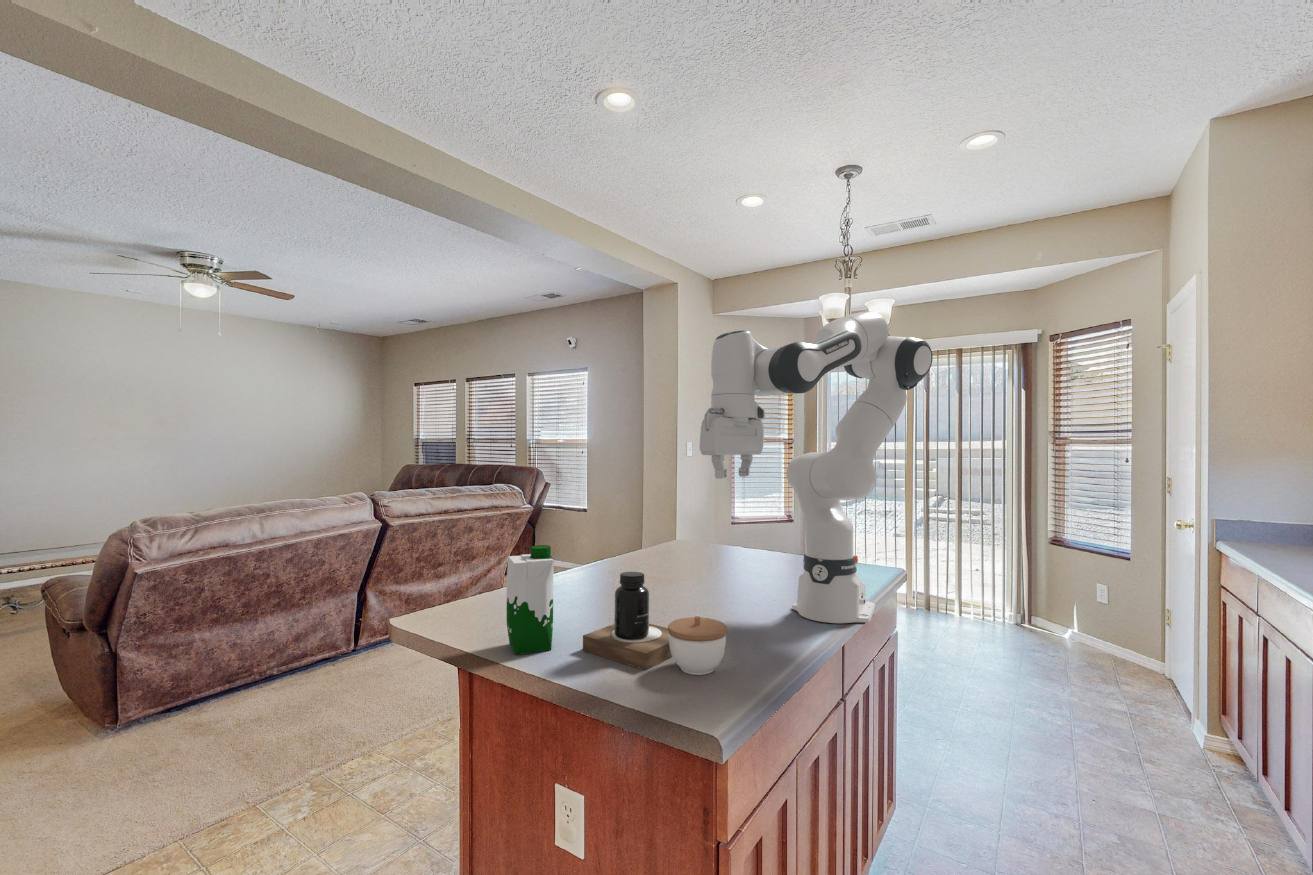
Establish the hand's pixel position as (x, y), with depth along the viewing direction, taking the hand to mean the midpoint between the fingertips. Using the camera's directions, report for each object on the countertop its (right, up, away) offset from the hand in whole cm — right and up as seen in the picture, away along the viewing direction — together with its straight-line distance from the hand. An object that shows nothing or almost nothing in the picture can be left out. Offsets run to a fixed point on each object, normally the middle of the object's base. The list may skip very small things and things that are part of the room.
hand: (732, 477), depth 116 cm
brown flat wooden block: (-20, -34, -3) cm, 39 cm away
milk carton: (-41, -34, -2) cm, 54 cm away
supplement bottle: (-20, -31, -4) cm, 37 cm away
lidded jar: (-8, -34, -13) cm, 37 cm away
